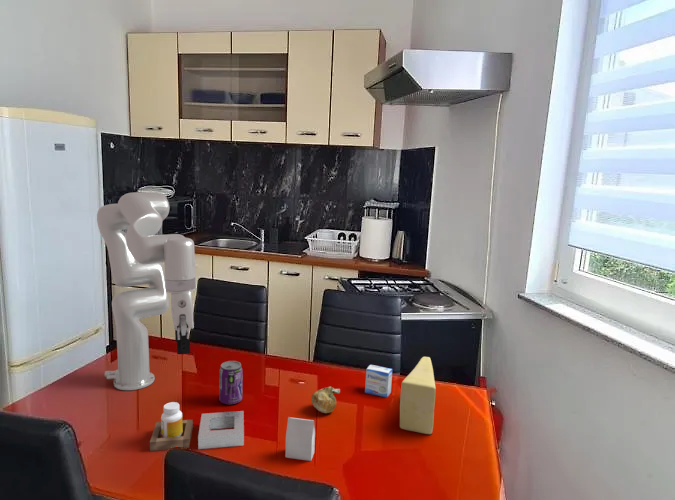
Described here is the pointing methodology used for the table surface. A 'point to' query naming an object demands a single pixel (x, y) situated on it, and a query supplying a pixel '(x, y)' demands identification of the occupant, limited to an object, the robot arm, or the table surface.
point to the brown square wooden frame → (169, 442)
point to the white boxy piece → (300, 439)
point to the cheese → (418, 398)
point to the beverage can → (230, 382)
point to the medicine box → (378, 381)
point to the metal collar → (221, 436)
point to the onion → (325, 399)
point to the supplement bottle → (171, 421)
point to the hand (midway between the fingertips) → (182, 347)
